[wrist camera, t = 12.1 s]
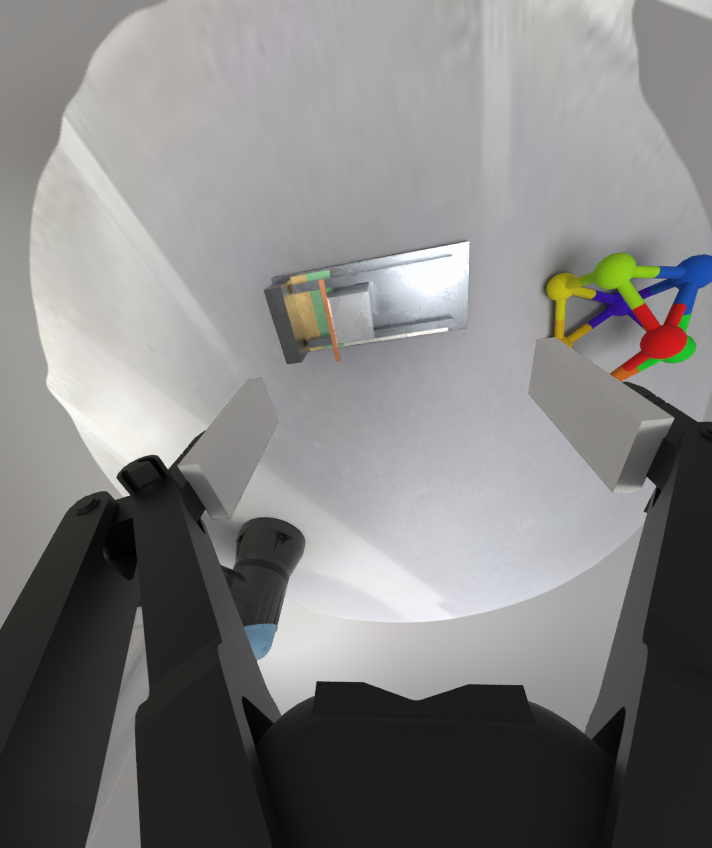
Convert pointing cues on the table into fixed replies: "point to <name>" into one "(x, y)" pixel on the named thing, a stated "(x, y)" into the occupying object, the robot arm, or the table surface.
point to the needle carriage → (348, 314)
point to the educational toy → (637, 305)
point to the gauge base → (375, 298)
